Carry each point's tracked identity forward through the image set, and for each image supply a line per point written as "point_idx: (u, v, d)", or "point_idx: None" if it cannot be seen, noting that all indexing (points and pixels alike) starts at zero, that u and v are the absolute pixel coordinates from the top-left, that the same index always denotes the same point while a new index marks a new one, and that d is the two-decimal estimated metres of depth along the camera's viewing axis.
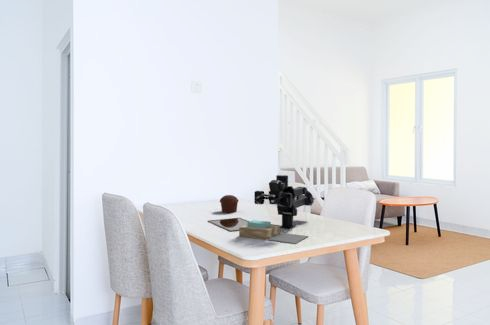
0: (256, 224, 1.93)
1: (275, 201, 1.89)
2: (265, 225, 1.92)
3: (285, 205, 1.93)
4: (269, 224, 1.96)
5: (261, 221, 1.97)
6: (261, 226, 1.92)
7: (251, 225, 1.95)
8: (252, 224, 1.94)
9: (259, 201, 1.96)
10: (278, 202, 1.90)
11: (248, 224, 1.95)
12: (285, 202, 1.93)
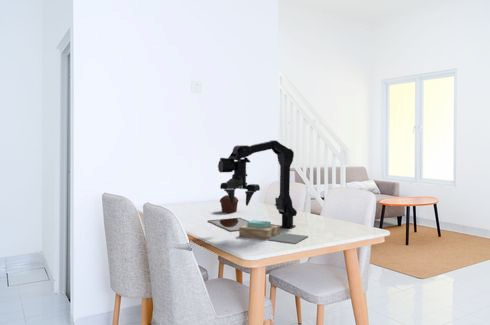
0: (256, 224, 1.93)
1: (247, 204, 1.99)
2: (265, 225, 1.92)
3: (254, 191, 1.99)
4: (269, 224, 1.96)
5: (261, 221, 1.97)
6: (261, 226, 1.92)
7: (251, 225, 1.95)
8: (252, 224, 1.94)
9: (233, 196, 2.03)
10: (249, 200, 1.99)
11: (248, 224, 1.95)
12: (252, 192, 1.98)
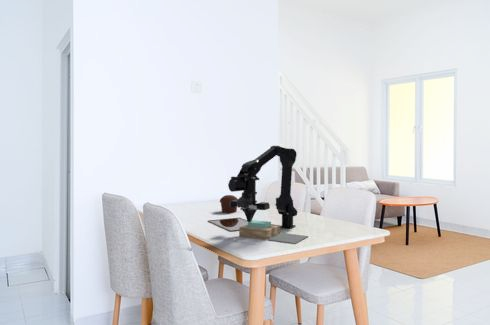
0: (256, 224, 1.93)
1: None
2: (266, 225, 1.92)
3: (257, 209, 1.99)
4: (269, 224, 1.95)
5: (261, 221, 1.97)
6: (262, 226, 1.92)
7: (251, 225, 1.95)
8: (252, 224, 1.94)
9: None
10: (252, 217, 1.98)
11: (248, 224, 1.95)
12: None
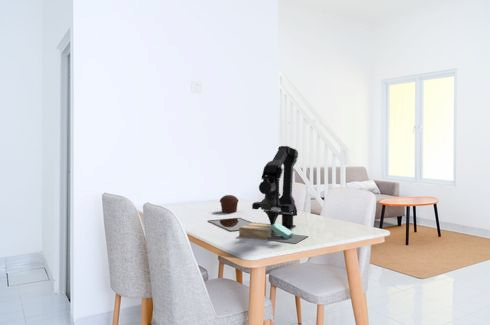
0: (279, 231, 1.88)
1: None
2: (288, 236, 1.87)
3: None
4: (291, 234, 1.91)
5: (285, 228, 1.92)
6: (284, 235, 1.87)
7: (274, 229, 1.89)
8: (275, 229, 1.89)
9: None
10: (275, 220, 1.92)
11: (271, 227, 1.90)
12: None
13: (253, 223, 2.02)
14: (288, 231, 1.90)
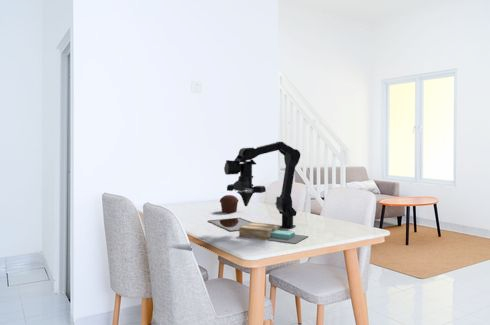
0: (280, 235, 1.88)
1: (247, 204, 2.04)
2: (290, 236, 1.86)
3: (253, 192, 2.05)
4: (293, 235, 1.90)
5: (285, 231, 1.92)
6: (285, 237, 1.87)
7: (275, 236, 1.89)
8: (276, 235, 1.89)
9: None
10: (248, 200, 2.04)
11: (272, 235, 1.90)
12: (251, 193, 2.03)
13: (253, 223, 2.02)
14: (289, 232, 1.90)
